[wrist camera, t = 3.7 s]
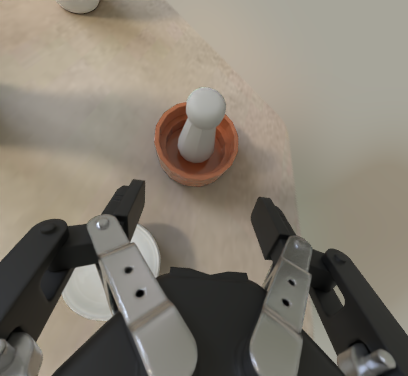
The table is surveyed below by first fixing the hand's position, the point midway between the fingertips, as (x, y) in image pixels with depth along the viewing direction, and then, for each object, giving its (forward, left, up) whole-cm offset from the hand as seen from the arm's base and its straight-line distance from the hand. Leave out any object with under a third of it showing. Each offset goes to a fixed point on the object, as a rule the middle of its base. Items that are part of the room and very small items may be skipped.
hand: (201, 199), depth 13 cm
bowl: (-7, +8, -17) cm, 20 cm away
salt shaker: (-7, +8, -17) cm, 20 cm away
